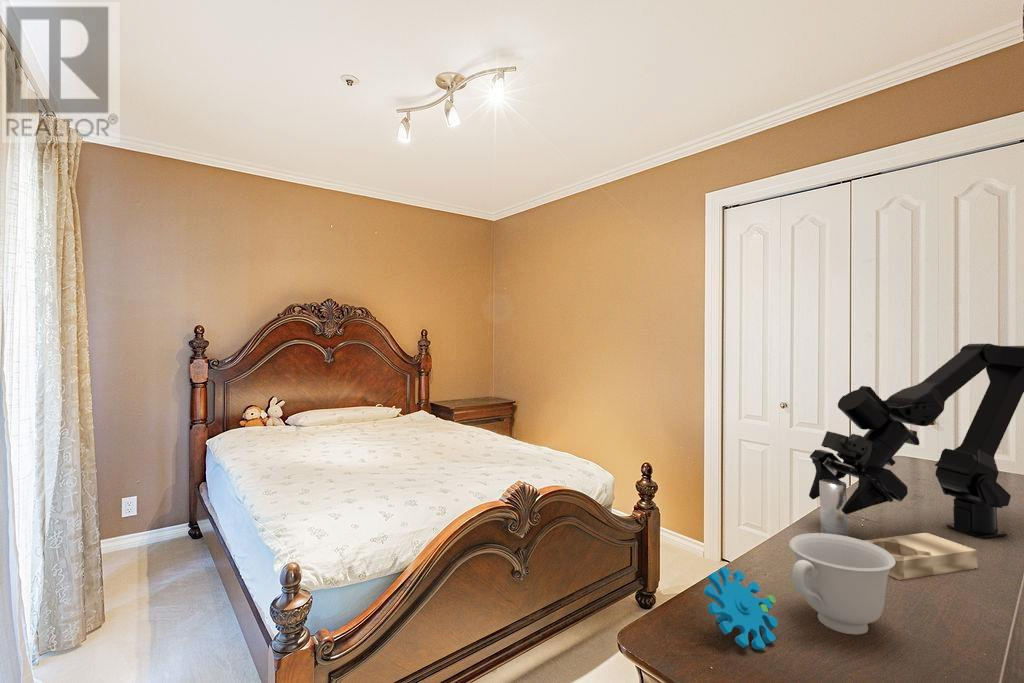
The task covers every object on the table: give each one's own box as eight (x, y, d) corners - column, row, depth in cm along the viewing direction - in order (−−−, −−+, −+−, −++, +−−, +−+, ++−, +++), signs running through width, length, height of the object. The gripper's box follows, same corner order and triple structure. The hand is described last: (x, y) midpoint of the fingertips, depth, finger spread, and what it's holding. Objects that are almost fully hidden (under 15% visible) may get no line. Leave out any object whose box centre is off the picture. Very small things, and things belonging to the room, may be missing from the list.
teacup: (757, 616, 68) (755, 545, 68) (827, 592, 74) (825, 527, 74) (845, 667, 57) (842, 582, 57) (919, 634, 63) (916, 557, 63)
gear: (733, 650, 58) (697, 566, 65) (706, 665, 62) (674, 584, 69) (801, 642, 62) (760, 563, 69) (772, 657, 65) (735, 580, 73)
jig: (927, 548, 88) (926, 532, 88) (977, 568, 80) (976, 550, 80) (854, 558, 85) (853, 541, 85) (898, 579, 77) (897, 561, 77)
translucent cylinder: (834, 533, 96) (832, 478, 96) (854, 542, 92) (852, 484, 92) (815, 536, 95) (813, 480, 96) (834, 545, 91) (832, 486, 91)
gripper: (816, 411, 104) (768, 465, 103) (889, 424, 85) (832, 490, 84) (853, 446, 104) (805, 500, 103) (933, 468, 85) (876, 533, 85)
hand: (826, 504), depth 94 cm, fingers open, 9 cm apart
